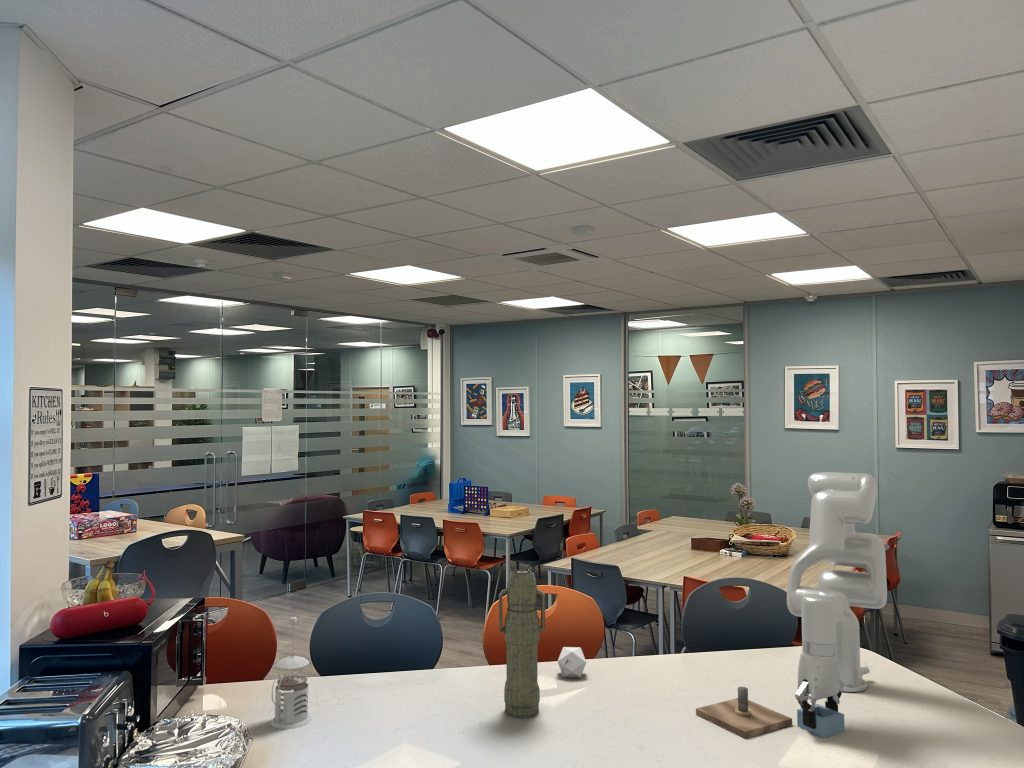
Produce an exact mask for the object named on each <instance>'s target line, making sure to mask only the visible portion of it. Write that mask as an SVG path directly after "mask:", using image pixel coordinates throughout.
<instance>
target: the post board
mask: <svg viewBox="0 0 1024 768" xmlns="http://www.w3.org/2000/svg"><path fill="white" fill-rule="evenodd" d="M695 715H696V716H698V717H699V718H701V719H704V720H706V721H708V722H711V723H712V724H714V725H716V726H718V727H721V728H722V729H725V730H726V731H729V732H731V733H733V734H735V735H737V736H739V737H740V738H743V739H749V738H751V737H756V736H759V735H761V734H765V733H770V732H772V731H775V730H779V729H780V730H781V729H782V728H786V727H790V726H793V718H792V717H790V716H788V715H785V714H783V713H780V712H777V711H776V710H773V709H771V708H768V707H767V706H764V705H761V704H759V703H756V702H755V701H751V700H750V699H749V688H748V687H746V686H738V687H737V697H736V698H733V699H729V700H724V701H719V702H716V703H713V704H708V705H705V706H702V707H696V709H695Z"/></svg>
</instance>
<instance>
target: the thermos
mask: <svg viewBox="0 0 1024 768" xmlns="http://www.w3.org/2000/svg"><path fill="white" fill-rule="evenodd" d="M506 585H507V586H506V588H504V589H501V591H500V593H499V594H498V629H499V630H498V631H499V633H500V632H501V633H503V634H504V641H505V643H506V675H505V676H506V679H505V683H504V689H503V692H504V693H503V694H504V696H503V697H504V700H503V702H504V707H505V708H504V712H505V714H506V716H509V717H512V718H514V717H515V719H530V718H533V717H536V716H537V715H539V713H540V706H539V705H540V701H541V700H540V698H541V695H540V693H541V692H540V690H541V689H540V686H539V683H538V645H539V642H540V634H541V633H542V632H543V631H544V630H545V629H546V595H545V593H544V592H543V590H542V589H538V585H537V579H536V576H535V573H534V571H533V572H532V570H529V569H514V570H513V571H511V572H510V573H509V576H508V579H507V583H506ZM538 594H539V595H540V618H539V615H538V608H537V603H538ZM504 595H506V596H507V597H506V601H507V602H506V603H507V608H506V613H505V614H506V615H505V618H504V625H503V597H504ZM529 717H530V718H529Z"/></svg>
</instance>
